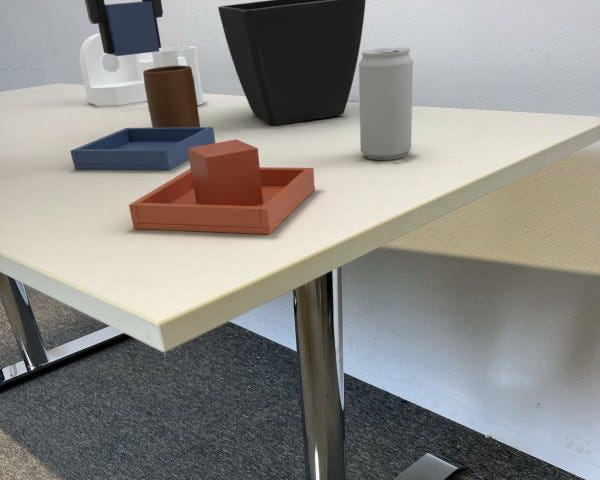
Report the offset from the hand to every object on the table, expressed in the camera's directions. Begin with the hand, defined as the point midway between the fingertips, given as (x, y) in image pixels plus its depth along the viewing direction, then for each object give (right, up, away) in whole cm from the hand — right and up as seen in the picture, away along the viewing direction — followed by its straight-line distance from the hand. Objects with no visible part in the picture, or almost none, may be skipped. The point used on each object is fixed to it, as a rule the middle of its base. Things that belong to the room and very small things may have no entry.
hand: (132, 49), depth 85 cm
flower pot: (+21, +3, +26) cm, 34 cm away
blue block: (0, 0, 0) cm, 0 cm away
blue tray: (0, -11, +8) cm, 13 cm away
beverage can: (+33, -14, -1) cm, 36 cm away
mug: (+1, -2, +21) cm, 22 cm away
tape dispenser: (-14, +19, +55) cm, 60 cm away
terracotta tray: (+14, -25, -16) cm, 33 cm away
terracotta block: (+14, -25, -16) cm, 33 cm away
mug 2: (-1, +12, +43) cm, 45 cm away
